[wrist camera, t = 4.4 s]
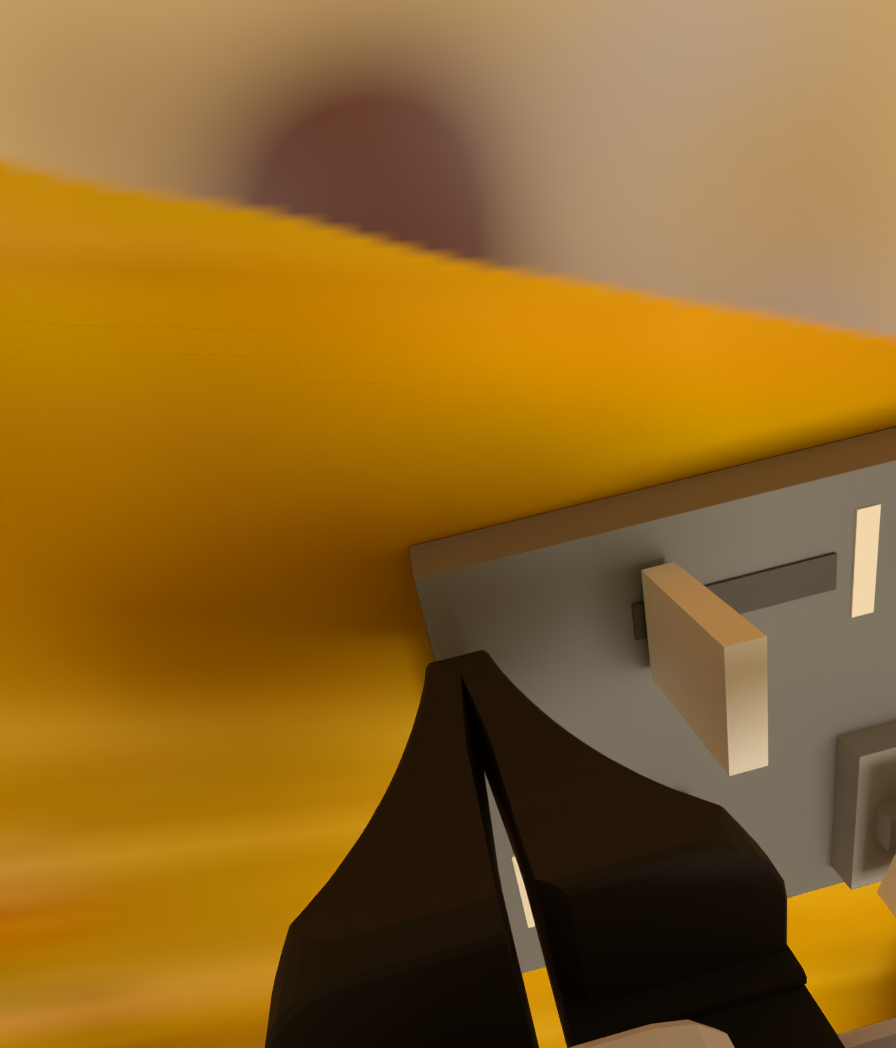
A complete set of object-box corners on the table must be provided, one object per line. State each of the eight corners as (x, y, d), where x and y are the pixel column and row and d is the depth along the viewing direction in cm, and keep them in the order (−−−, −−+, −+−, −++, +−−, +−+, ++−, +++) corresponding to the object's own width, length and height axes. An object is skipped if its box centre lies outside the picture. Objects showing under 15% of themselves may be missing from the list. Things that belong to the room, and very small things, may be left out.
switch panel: (935, 791, 20) (1046, 884, 17) (502, 912, 20) (529, 1034, 16) (985, 404, 15) (1157, 428, 12) (408, 546, 15) (419, 614, 11)
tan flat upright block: (681, 668, 14) (767, 765, 11) (651, 677, 14) (729, 776, 11) (674, 561, 13) (766, 636, 10) (641, 570, 13) (723, 647, 10)
